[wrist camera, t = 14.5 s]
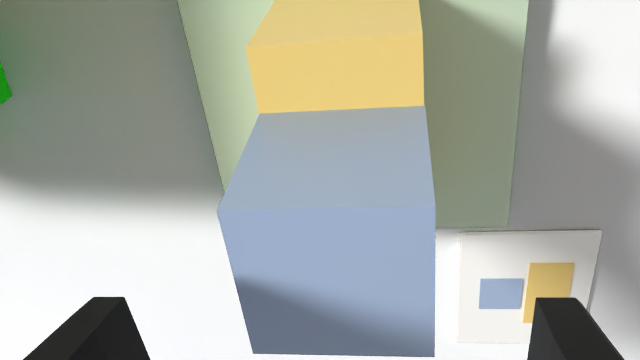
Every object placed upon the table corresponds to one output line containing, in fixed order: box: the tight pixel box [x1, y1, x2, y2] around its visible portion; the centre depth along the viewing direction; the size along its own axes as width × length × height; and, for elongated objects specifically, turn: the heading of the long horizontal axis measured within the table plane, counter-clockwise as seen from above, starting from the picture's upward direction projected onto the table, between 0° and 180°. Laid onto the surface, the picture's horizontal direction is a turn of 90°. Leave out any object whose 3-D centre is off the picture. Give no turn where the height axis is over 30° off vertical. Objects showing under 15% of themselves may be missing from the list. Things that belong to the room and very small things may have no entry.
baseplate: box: [177, 0, 529, 228], centre depth 18 cm, size 10×10×1 cm
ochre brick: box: [246, 0, 424, 114], centre depth 16 cm, size 7×4×4 cm, turn 7°
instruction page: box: [457, 230, 602, 344], centre depth 22 cm, size 6×5×1 cm
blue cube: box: [217, 106, 436, 357], centre depth 13 cm, size 4×4×4 cm
